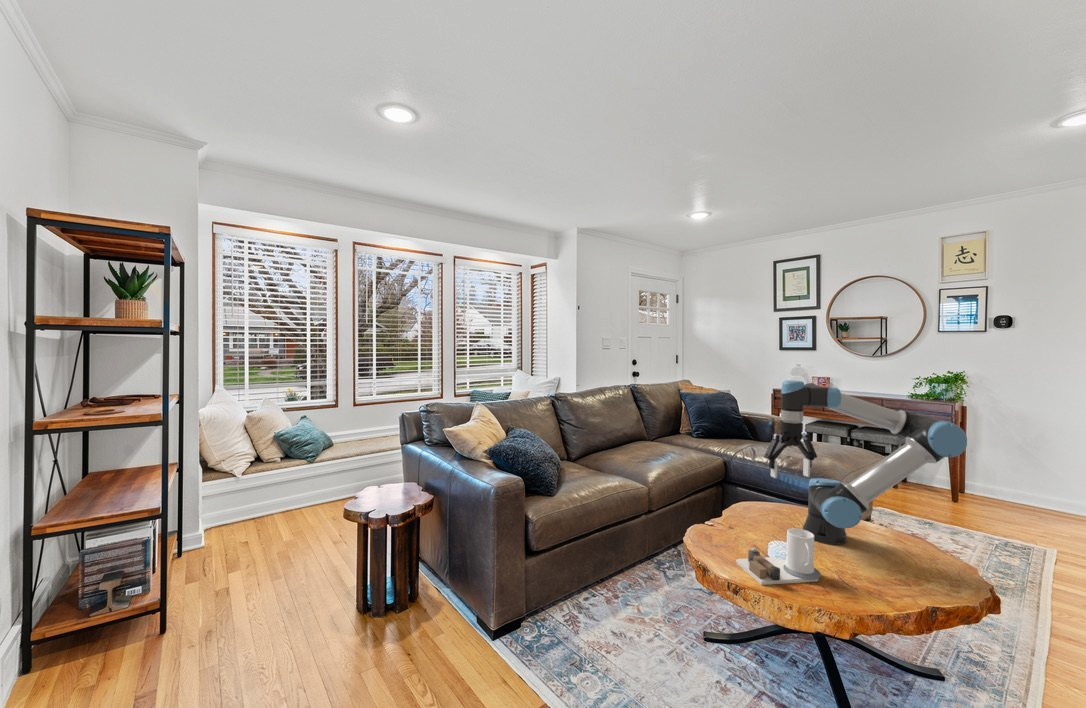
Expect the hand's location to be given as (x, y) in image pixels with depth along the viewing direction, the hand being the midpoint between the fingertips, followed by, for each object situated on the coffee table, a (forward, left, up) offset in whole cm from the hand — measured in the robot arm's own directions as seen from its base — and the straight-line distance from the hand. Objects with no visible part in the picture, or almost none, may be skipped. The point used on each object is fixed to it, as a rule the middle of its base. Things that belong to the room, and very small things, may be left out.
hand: (790, 476), depth 177 cm
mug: (+10, +21, -25) cm, 34 cm away
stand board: (+16, +18, -27) cm, 36 cm away
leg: (+23, +19, -25) cm, 39 cm away
